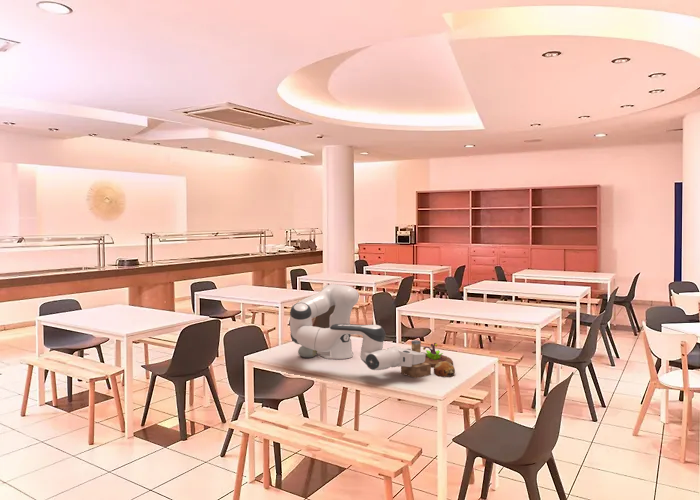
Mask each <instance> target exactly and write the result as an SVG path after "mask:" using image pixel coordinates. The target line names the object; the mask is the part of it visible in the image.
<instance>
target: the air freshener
mask: <svg viewBox="0 0 700 500" xmlns="http://www.w3.org/2000/svg"><path fill="white" fill-rule="evenodd" d="M297 354H298V355H299V356H300V357H302V358H307V359H311V358H314V357H316V355H318V354H317V351H316V350H312V349H309V348H306V347H304V346H302V345H300V346H299V348H298V349H297Z"/></svg>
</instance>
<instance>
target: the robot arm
mask: <svg viewBox="0 0 700 500" xmlns="http://www.w3.org/2000/svg"><path fill="white" fill-rule="evenodd" d="M359 298H360V294H359V291H358V290H357V289H356V288H354V287H352V286H351V285H345V284H336V283H331V284H326V285H325V286H323V287H322V289H321V290H320V291H318V292H317V293H315V294H311V295H310V296H308V297H306V298H303V299H301V300H300V301H298V302H296V303H295V304H293V305H292V306H291V308H290V309H289V310H290V311H289V315H290V316H289V328H290V333H289V334H290V339H291V341H292V342H293V343H294V344H295V345H296V344H297V345H300V346H304V347H306V348H309V349H312V350H316V351H317V354H316V355H318V356H320V357H322V358H324V359H326V360H327V359H328V360H330V359H331V360H332V359H334V360H344V359H345V360H346V359H350V358H352V357H353V355H354V351H353V348H352V347H353V346H352V339H351V335H360V336H362V341H361V342H362V343H361V347H360V355H359V356H360V359H361V361H362V362H363V363H364V364H365V365H366V366H367V368H368V369H370V370H372V371H383V370H388V369H390V368H396V367H401V366H404V367H411V366H412V365H416V364H420V363H423V362H425V356H426V353H427V352H426V351H425V352H424V351H422V352H416V351H412V348H404V347H401V346H392V347H388V348H387V349H384V348H383V346H384V341H385V338H386V332H385V329H384V328H383V326H381V325H379V324H355V323H354V324H353V323H352V324H351V323H350V322H351V315H352V311H353V308H354V306H355V305H357V304H358V301H359ZM333 306H334V309H333V312H332V313H331V314H330V315H329V327H325V328H324V327H319V326H313V319H314V318H316V317H318V316H321V315H323V314H325V313H328V311H329V309H330V308H331V307H333Z"/></svg>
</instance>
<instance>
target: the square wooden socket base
mask: <svg viewBox="0 0 700 500" xmlns="http://www.w3.org/2000/svg"><path fill="white" fill-rule="evenodd" d="M431 372H432V368H431V364H428V363H425V362H423V363H420V365H412V366H411V367H404V366H400V374H401V375H405V376H408V377H411V378H413V379H419V378H422V377H425V376H430V375H432V373H431Z"/></svg>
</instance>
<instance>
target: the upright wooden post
mask: <svg viewBox="0 0 700 500" xmlns="http://www.w3.org/2000/svg"><path fill="white" fill-rule="evenodd" d="M421 344H422V343H421V340H418V339H414V340H411V350H412V351H416V352H420V353H421V351H422V349H421V346H422V345H421ZM416 365H420V364H416Z"/></svg>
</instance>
